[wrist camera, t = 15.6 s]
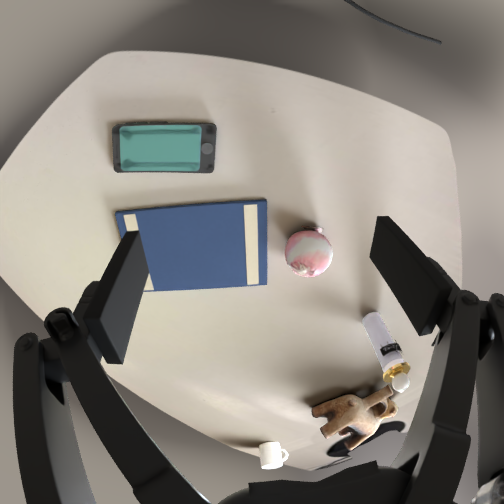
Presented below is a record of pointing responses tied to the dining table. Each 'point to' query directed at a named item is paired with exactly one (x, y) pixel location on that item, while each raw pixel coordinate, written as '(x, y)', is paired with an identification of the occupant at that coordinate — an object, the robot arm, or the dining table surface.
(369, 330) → the perfume bottle
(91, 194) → the dining table surface
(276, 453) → the mug
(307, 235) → the onion
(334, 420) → the ceramic vessel
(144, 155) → the smartphone
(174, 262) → the towel
